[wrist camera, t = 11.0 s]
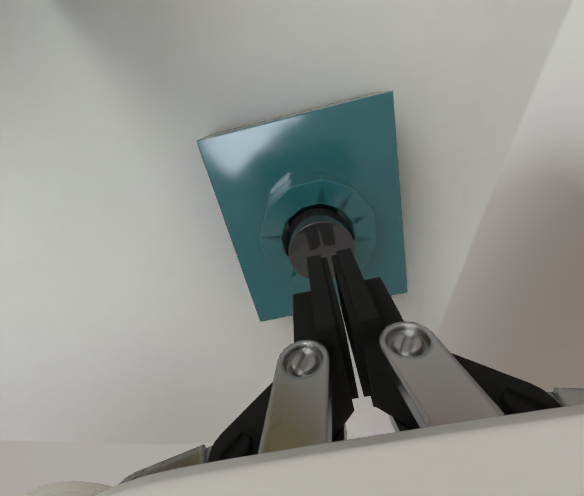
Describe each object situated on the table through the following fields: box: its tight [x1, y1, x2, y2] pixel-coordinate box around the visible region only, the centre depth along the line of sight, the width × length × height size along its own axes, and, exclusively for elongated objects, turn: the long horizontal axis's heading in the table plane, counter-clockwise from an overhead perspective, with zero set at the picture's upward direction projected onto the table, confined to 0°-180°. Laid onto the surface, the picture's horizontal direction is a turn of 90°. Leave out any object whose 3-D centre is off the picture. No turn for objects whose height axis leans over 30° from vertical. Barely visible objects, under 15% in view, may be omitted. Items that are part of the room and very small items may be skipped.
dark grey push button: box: [288, 208, 355, 279], centre depth 15 cm, size 3×3×2 cm
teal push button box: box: [197, 91, 408, 321], centre depth 18 cm, size 12×10×5 cm
